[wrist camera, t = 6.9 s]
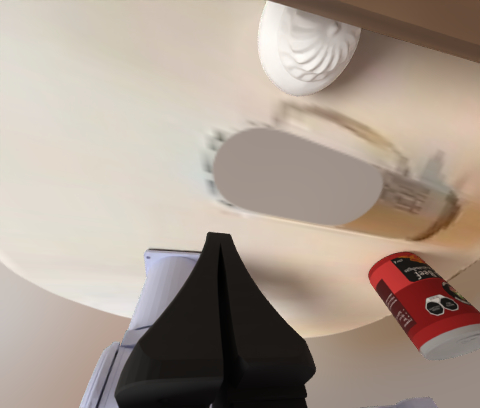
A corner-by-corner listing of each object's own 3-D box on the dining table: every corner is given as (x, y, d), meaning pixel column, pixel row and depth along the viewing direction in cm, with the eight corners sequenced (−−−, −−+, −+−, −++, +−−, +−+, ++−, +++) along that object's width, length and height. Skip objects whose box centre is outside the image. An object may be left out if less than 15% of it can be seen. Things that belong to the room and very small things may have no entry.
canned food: (427, 257, 31) (514, 334, 22) (387, 286, 35) (447, 363, 26) (395, 244, 29) (478, 325, 20) (356, 277, 32) (410, 358, 23)
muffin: (316, 95, 17) (367, 108, 11) (245, 87, 16) (260, 96, 10) (344, -7, 14) (439, -66, 8) (257, -24, 13) (289, -104, 7)
